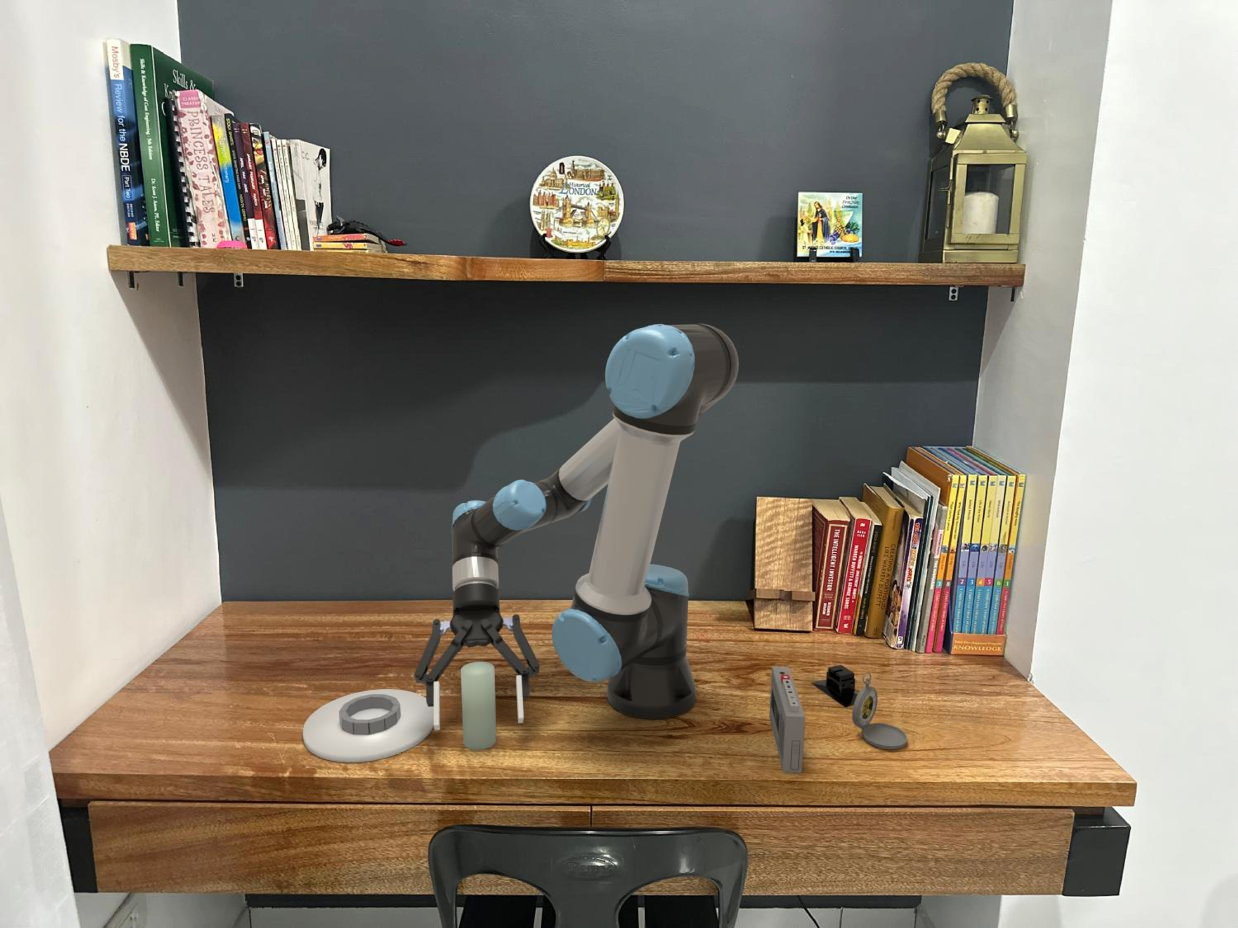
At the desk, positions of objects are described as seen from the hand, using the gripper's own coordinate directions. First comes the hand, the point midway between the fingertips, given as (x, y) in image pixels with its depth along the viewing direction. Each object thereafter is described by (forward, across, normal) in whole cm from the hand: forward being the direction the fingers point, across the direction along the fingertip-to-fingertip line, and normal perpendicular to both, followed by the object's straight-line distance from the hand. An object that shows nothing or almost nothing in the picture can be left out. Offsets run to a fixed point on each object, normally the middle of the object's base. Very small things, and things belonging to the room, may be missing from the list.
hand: (479, 724), depth 119 cm
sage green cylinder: (+1, 0, -5) cm, 5 cm away
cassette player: (+7, -46, +1) cm, 47 cm away
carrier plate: (-4, +17, -10) cm, 20 cm away
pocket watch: (+8, -61, +1) cm, 62 cm away
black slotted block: (-2, -62, -10) cm, 63 cm away
